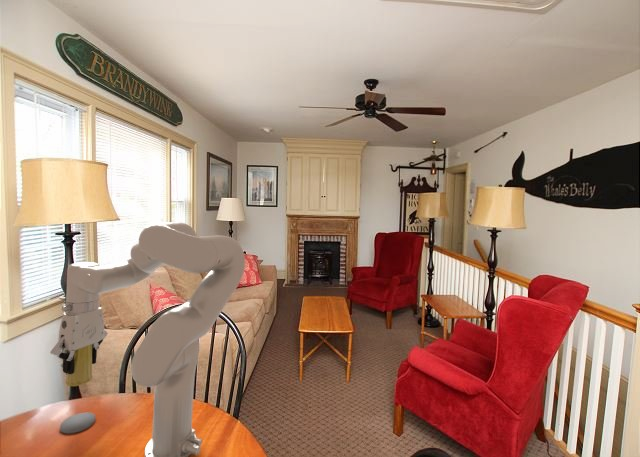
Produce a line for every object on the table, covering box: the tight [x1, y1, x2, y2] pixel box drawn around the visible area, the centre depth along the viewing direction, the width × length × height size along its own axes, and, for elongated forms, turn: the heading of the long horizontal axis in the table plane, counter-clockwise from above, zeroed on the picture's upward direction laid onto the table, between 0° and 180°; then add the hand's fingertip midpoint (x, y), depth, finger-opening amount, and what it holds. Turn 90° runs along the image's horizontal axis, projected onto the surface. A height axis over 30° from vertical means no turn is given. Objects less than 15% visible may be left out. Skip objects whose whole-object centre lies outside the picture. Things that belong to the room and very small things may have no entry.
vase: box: [65, 344, 93, 387], centre depth 88 cm, size 6×6×14 cm
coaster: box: [59, 411, 96, 435], centre depth 89 cm, size 8×8×1 cm
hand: (80, 367), depth 88 cm, fingers closed on vase, 5 cm apart
